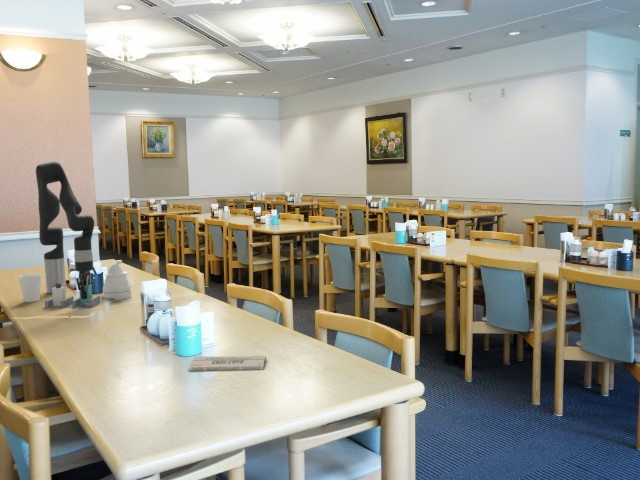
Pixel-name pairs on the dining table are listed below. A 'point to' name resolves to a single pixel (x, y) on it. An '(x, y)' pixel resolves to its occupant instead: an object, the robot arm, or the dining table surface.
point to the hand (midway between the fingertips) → (86, 297)
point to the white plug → (58, 294)
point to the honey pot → (116, 283)
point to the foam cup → (30, 286)
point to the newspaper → (227, 363)
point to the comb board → (73, 303)
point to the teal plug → (89, 294)
